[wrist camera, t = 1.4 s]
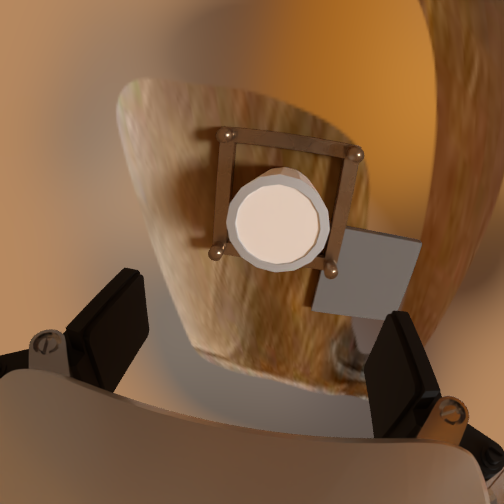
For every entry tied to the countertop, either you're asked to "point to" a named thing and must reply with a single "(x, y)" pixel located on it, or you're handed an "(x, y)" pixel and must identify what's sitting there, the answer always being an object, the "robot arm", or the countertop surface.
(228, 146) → the brown square frame
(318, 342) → the countertop surface
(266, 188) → the shot glass
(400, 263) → the coaster
